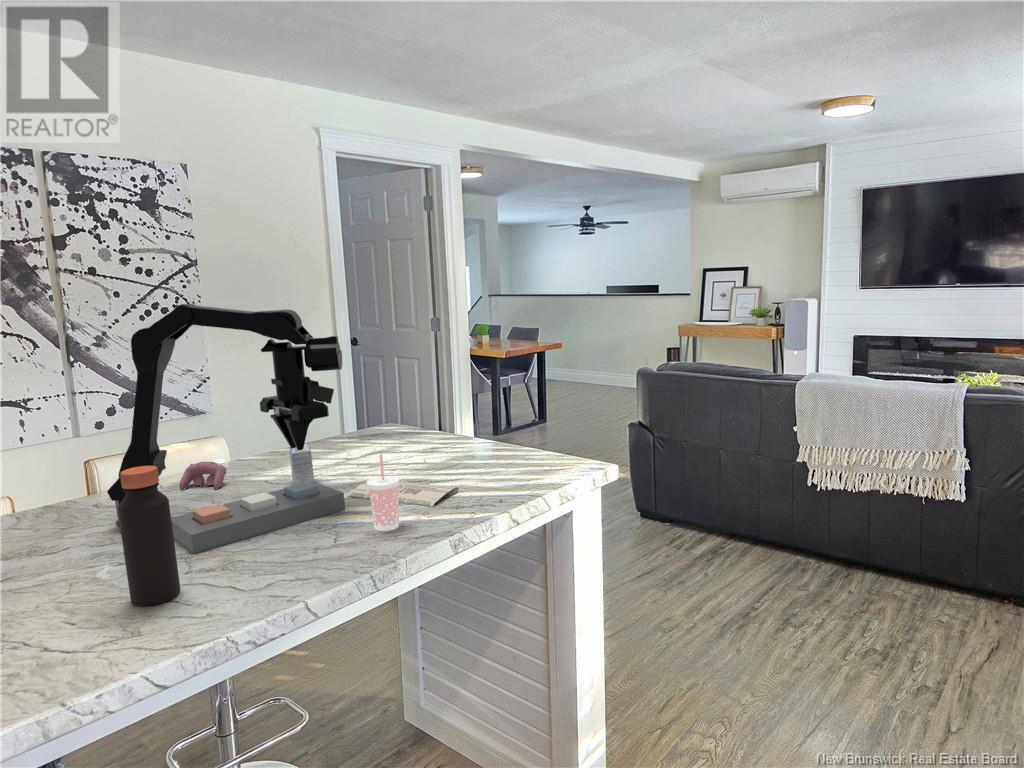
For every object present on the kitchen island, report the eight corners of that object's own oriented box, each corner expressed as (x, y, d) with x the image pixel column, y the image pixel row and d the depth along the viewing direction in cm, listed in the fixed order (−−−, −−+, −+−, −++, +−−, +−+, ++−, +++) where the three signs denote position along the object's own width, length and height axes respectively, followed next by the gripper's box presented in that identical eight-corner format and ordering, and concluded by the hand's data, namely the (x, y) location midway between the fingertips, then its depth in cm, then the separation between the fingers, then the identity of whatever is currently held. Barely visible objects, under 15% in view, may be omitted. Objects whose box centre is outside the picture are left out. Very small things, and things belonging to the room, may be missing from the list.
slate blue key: (296, 506, 139) (295, 492, 139) (285, 501, 143) (284, 487, 142) (319, 500, 142) (317, 486, 142) (307, 495, 146) (306, 481, 146)
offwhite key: (252, 518, 133) (250, 503, 133) (242, 513, 137) (240, 498, 136) (277, 511, 136) (275, 497, 136) (266, 506, 140) (265, 492, 140)
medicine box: (315, 486, 159) (311, 450, 158) (294, 489, 158) (291, 452, 156) (311, 478, 166) (308, 443, 165) (292, 481, 165) (288, 445, 163)
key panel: (193, 553, 122) (191, 535, 122) (169, 536, 132) (167, 518, 131) (345, 509, 142) (343, 492, 142) (315, 496, 152) (313, 481, 151)
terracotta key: (204, 532, 127) (202, 516, 127) (194, 525, 131) (192, 510, 130) (231, 524, 130) (229, 509, 130) (221, 518, 134) (219, 503, 134)
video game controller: (226, 491, 164) (230, 462, 166) (217, 488, 160) (220, 458, 162) (187, 492, 165) (191, 463, 167) (176, 489, 161) (180, 459, 163)
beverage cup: (367, 524, 133) (361, 453, 130) (399, 518, 135) (394, 448, 133) (373, 534, 127) (366, 460, 125) (406, 529, 129) (400, 456, 127)
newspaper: (462, 491, 152) (461, 481, 151) (434, 515, 141) (432, 504, 141) (377, 482, 162) (375, 472, 161) (344, 504, 151) (342, 493, 150)
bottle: (125, 598, 106) (106, 471, 103) (171, 583, 110) (155, 461, 107) (139, 612, 101) (120, 479, 98) (187, 595, 105) (170, 468, 102)
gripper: (349, 370, 137) (355, 447, 139) (305, 365, 151) (312, 435, 153) (296, 378, 130) (304, 459, 132) (255, 371, 143) (263, 445, 146)
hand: (297, 448), depth 141 cm, fingers open, 3 cm apart
